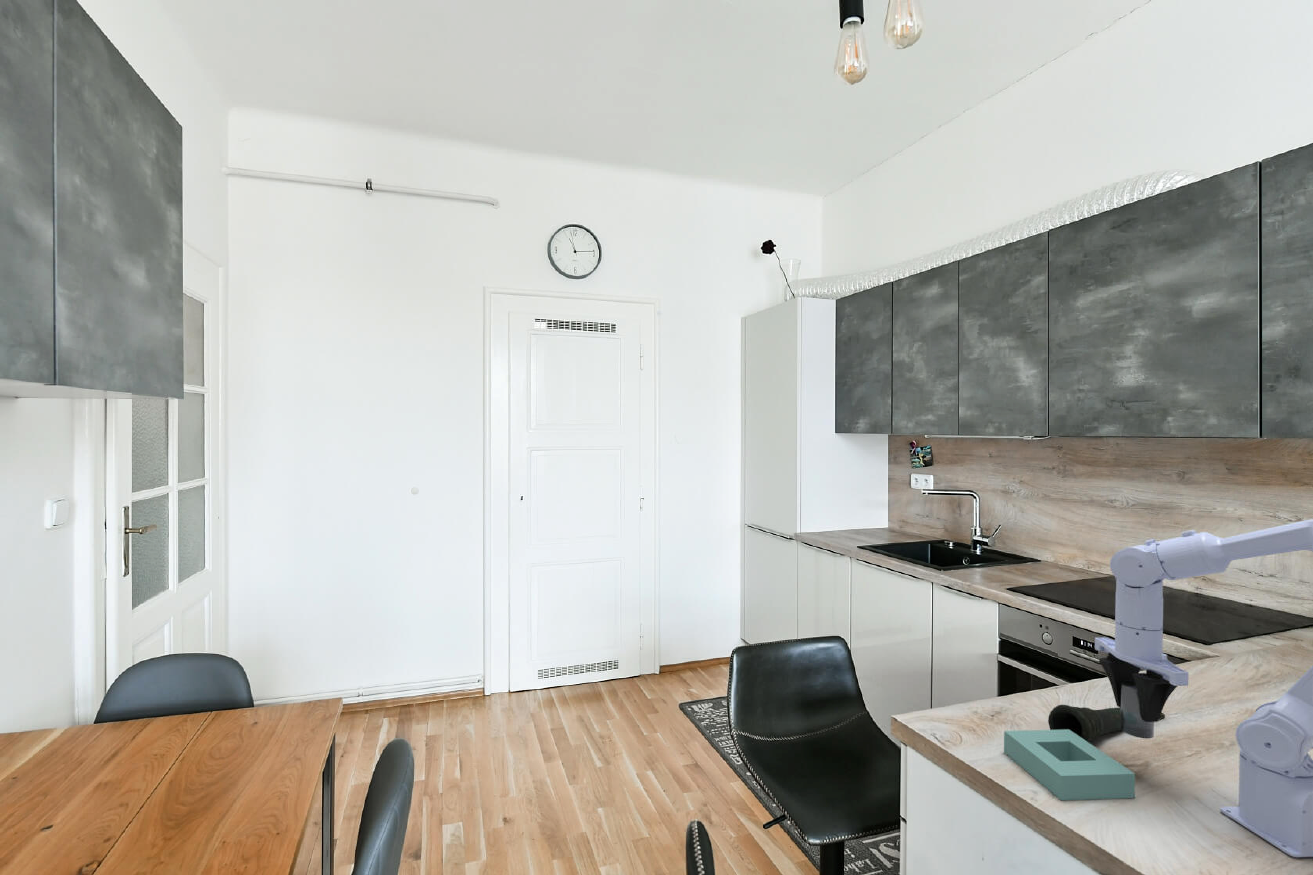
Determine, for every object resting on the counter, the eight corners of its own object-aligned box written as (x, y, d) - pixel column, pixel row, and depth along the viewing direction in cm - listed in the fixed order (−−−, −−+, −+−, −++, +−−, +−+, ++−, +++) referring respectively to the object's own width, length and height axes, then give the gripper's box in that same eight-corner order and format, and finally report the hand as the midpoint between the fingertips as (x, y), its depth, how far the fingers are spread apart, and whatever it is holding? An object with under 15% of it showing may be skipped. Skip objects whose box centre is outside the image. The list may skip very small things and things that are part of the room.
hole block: (1134, 797, 88) (1135, 773, 88) (1060, 800, 87) (1061, 775, 87) (1068, 750, 101) (1068, 729, 101) (1004, 752, 100) (1004, 730, 100)
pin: (1160, 737, 92) (1161, 691, 92) (1135, 738, 91) (1136, 692, 91) (1138, 725, 96) (1138, 680, 96) (1113, 725, 95) (1114, 681, 95)
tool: (1083, 757, 99) (1083, 716, 99) (1045, 737, 106) (1046, 699, 105) (1191, 729, 109) (1192, 692, 109) (1151, 713, 115) (1151, 678, 115)
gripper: (1209, 640, 86) (1207, 736, 87) (1123, 610, 101) (1122, 692, 101) (1162, 641, 86) (1160, 737, 86) (1083, 611, 100) (1081, 693, 101)
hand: (1137, 713), depth 94 cm, fingers closed on pin, 4 cm apart
